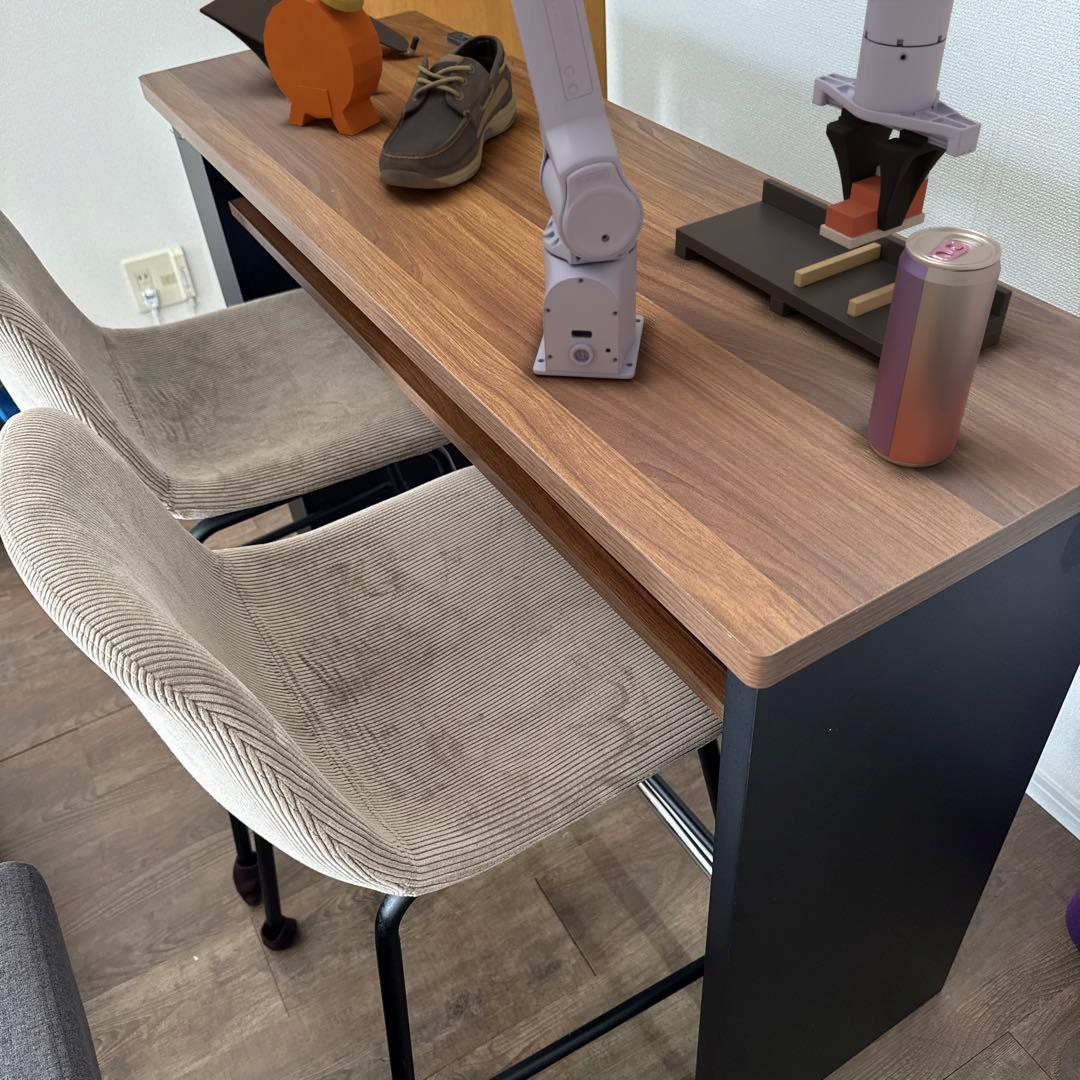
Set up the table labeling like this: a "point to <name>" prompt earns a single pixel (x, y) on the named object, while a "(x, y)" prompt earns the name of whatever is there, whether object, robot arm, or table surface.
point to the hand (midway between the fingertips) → (873, 219)
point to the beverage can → (932, 343)
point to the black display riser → (811, 265)
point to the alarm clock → (325, 61)
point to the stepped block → (866, 214)
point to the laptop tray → (246, 17)
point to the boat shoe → (450, 117)
